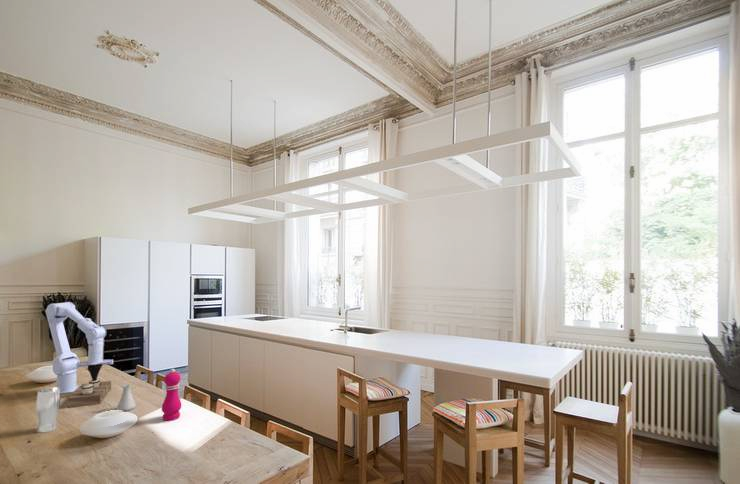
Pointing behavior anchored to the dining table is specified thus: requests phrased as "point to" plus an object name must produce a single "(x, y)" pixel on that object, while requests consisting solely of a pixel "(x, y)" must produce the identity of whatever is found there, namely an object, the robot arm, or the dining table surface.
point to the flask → (126, 399)
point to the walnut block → (91, 399)
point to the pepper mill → (171, 397)
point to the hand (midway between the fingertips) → (94, 380)
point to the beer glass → (47, 408)
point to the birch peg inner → (95, 383)
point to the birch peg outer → (87, 389)
